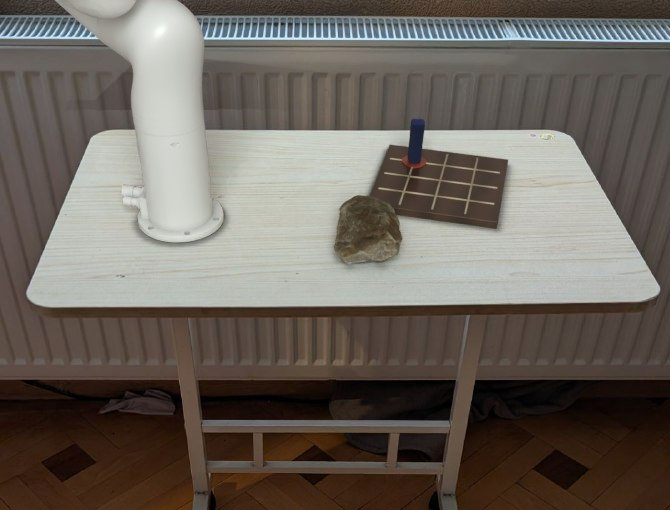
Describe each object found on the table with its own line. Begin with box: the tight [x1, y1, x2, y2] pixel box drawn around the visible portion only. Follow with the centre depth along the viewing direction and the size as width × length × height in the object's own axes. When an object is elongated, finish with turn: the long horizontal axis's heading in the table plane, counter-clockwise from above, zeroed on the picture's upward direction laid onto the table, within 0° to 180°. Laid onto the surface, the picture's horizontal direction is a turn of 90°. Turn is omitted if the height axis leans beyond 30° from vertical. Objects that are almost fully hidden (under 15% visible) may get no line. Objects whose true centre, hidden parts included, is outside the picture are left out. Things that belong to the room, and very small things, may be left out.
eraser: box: [408, 118, 426, 164], centre depth 134 cm, size 2×2×7 cm
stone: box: [333, 194, 403, 265], centre depth 118 cm, size 13×8×8 cm
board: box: [368, 144, 509, 230], centre depth 132 cm, size 20×20×1 cm
